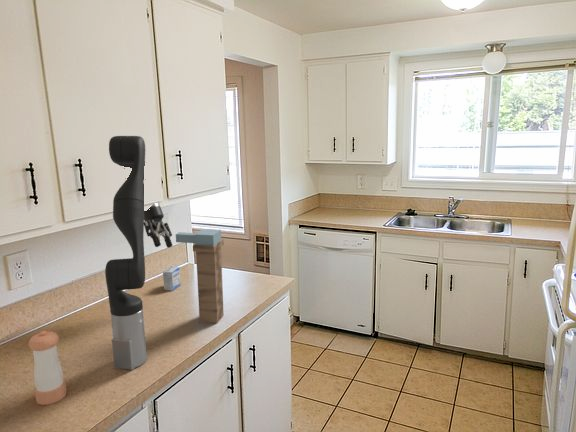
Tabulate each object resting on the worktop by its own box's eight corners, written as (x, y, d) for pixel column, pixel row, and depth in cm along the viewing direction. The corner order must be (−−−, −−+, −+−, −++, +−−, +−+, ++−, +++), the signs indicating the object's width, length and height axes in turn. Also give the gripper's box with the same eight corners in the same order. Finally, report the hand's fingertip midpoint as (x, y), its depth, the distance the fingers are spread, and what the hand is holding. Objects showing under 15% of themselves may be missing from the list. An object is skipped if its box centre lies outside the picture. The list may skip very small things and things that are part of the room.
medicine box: (173, 291, 188) (171, 272, 187) (163, 290, 189) (162, 271, 187) (181, 284, 196) (179, 266, 194) (172, 284, 197) (170, 266, 195)
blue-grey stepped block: (213, 246, 151) (213, 235, 150) (173, 244, 153) (172, 233, 153) (221, 240, 158) (220, 229, 157) (182, 238, 161) (181, 228, 160)
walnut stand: (217, 325, 156) (214, 247, 150) (196, 323, 157) (192, 245, 151) (226, 313, 165) (223, 239, 159) (206, 312, 167) (203, 238, 161)
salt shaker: (29, 401, 113) (19, 335, 109) (53, 386, 120) (44, 323, 116) (49, 407, 111) (40, 340, 107) (72, 391, 117) (64, 327, 113)
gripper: (148, 202, 160) (162, 242, 157) (168, 207, 174) (181, 243, 171) (132, 211, 161) (145, 250, 158) (153, 215, 175) (166, 250, 172)
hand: (164, 246), depth 164 cm, fingers open, 8 cm apart
